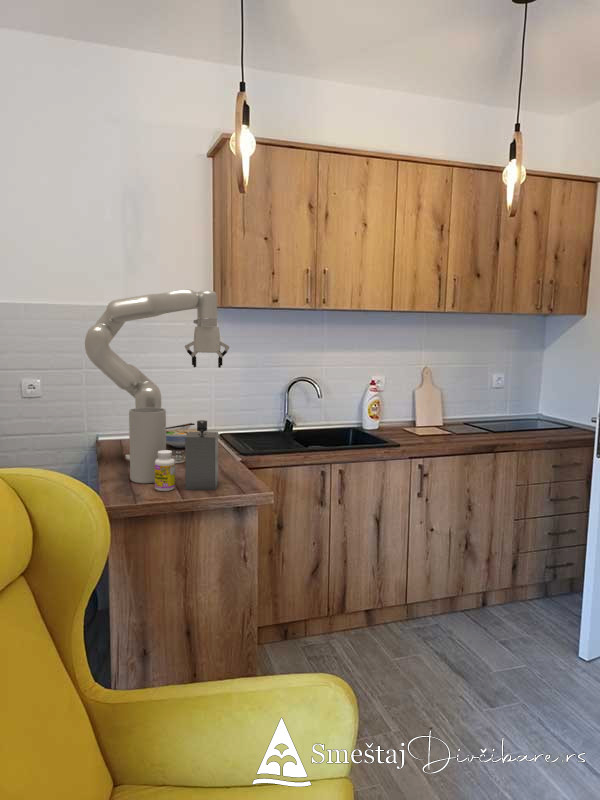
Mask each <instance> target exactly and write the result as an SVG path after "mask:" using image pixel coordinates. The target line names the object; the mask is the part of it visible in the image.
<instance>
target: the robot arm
mask: <svg viewBox="0 0 600 800" xmlns="http://www.w3.org/2000/svg"><path fill="white" fill-rule="evenodd" d="M187 310H188V311H190V310H197V311H196V312H197V313H196V314H197V315H196V316H197V317H196V319H194V320H193V324H195V325H196V326H195V327H194V330H193V331H194V333H193V341H191V342H189V343H188V344H185V345H184V348H185V351H186V352H187V353H188V354H189V356H190V357H191V365H192V366H193V368H196V367H197V356H196V355H197V354H198V353H204V354H205V353H208V354H209V353H210V354H211V353H212V354H214V353H216V354H217V355H218V358H217V360H218V361H217V363H218V364H217V365H218V366H217V367H218V368H219V369H220V368H221V366H223V357H224V356H225V355H227V353H228V351H229V350H230V345H228V344H226V343H225V342H223V341H222V340H221V334H220V328H219V327H218V319H217V318H218V296H217V293H216V292H215V291H212V290H200V291H194V290H192V289H189V288H188V289H180V290H173V291H168V292H162V293H152V294H151V293H149V294H144V295H143V294H142V295H137V296H130V297H125V298H120V299H119V298H118V299H114V300H111V301H110V302H109V303H107V306H106V309H105V310H104V312H103V313H102V314H101V316H100V318H99V319H98V320H97V321H96V322H95V324H94V325H92V326H90V328H89V329H88V330H87V332H86V335H85V339H84V348H85V349H84V350H85V353H86V355H87V357H88V359H89V360H90V362H91V363H92V364H93V365H94V366H95V367H96V368H97V369H99V370H100V371H101V372H102V373H103V374H104V375H105V376H106V377H107V378H109V379H110V380H111V381H112V382H113V383H114V384H115V385H116V386H117V387H118V388H119V389H121V390H124V391H126V392H127V393H128V394H129V395H130V396H131V397H133V398H134V403H135V408H148V407H151V408H162V393H161V390H160V388H159V386H158V385H157V384H156V383H154V382H153V381H152V380H151V379H150V378H148V376H146V375H145V374H144V373H143V372H142V371H141V370H139V369H138V368H137V367H136V366H135V365H133V364H129V363H127V362H126V361H125V360H124V359H123V358H121V357H120V355H118V354H117V353H116V352H115V351H114V350H113V349H111V346H110V343H111V342H112V341H113V339H114V338H115V337H116V335H117V334H118V332H119V331H120V330H121V328H122V327H123V326H124V324H125V323H126V322H131V321H135V320H136V321H138V320H141V319H142V320H143V319H148V318H149V319H150V318H155V317H159V316H161V315H165V314H170V313H175V312H183V311H187ZM192 346H193V351H192V350H191V349H190V347H192ZM221 346H222V347H223V348H224V350H223V351H221ZM125 460H127V461H130V454H125Z"/></svg>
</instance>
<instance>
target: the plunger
mask: <svg viewBox="0 0 600 800" xmlns="http://www.w3.org/2000/svg"><path fill="white" fill-rule="evenodd" d="M196 427H197V431H200V435H204V431H207V432H208V420H204V419H203V420H202V419H201V420H196Z"/></svg>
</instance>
